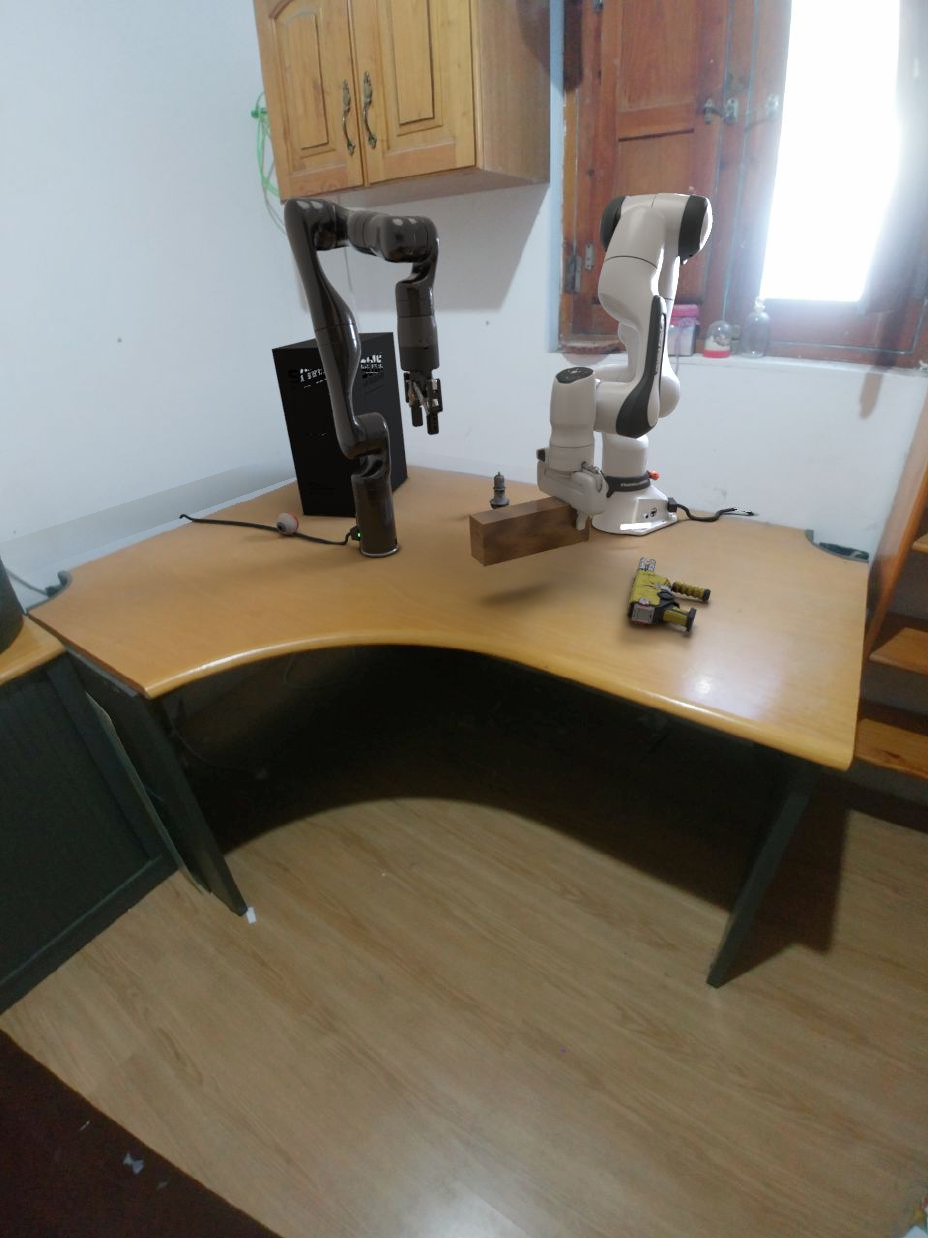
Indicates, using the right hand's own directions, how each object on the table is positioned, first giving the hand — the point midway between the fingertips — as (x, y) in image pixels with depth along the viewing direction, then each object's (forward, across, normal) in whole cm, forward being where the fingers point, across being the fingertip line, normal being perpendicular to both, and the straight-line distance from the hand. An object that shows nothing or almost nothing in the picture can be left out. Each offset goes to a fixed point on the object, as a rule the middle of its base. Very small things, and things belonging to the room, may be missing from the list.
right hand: (569, 522), depth 126 cm
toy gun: (+13, -19, -12) cm, 26 cm away
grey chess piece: (+13, +45, -7) cm, 47 cm away
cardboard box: (+13, +84, +23) cm, 88 cm away
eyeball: (+13, +61, +50) cm, 80 cm away
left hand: (-19, +17, +24) cm, 35 cm away
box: (+4, 0, +9) cm, 10 cm away
